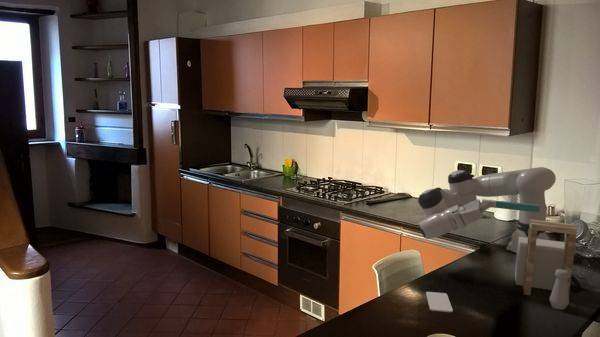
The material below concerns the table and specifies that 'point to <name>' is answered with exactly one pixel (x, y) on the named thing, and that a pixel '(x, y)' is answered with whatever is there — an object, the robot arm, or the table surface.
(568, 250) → the wooden stand
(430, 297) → the smartphone
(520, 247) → the white rectangular block
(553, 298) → the salt shaker
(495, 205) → the marker
